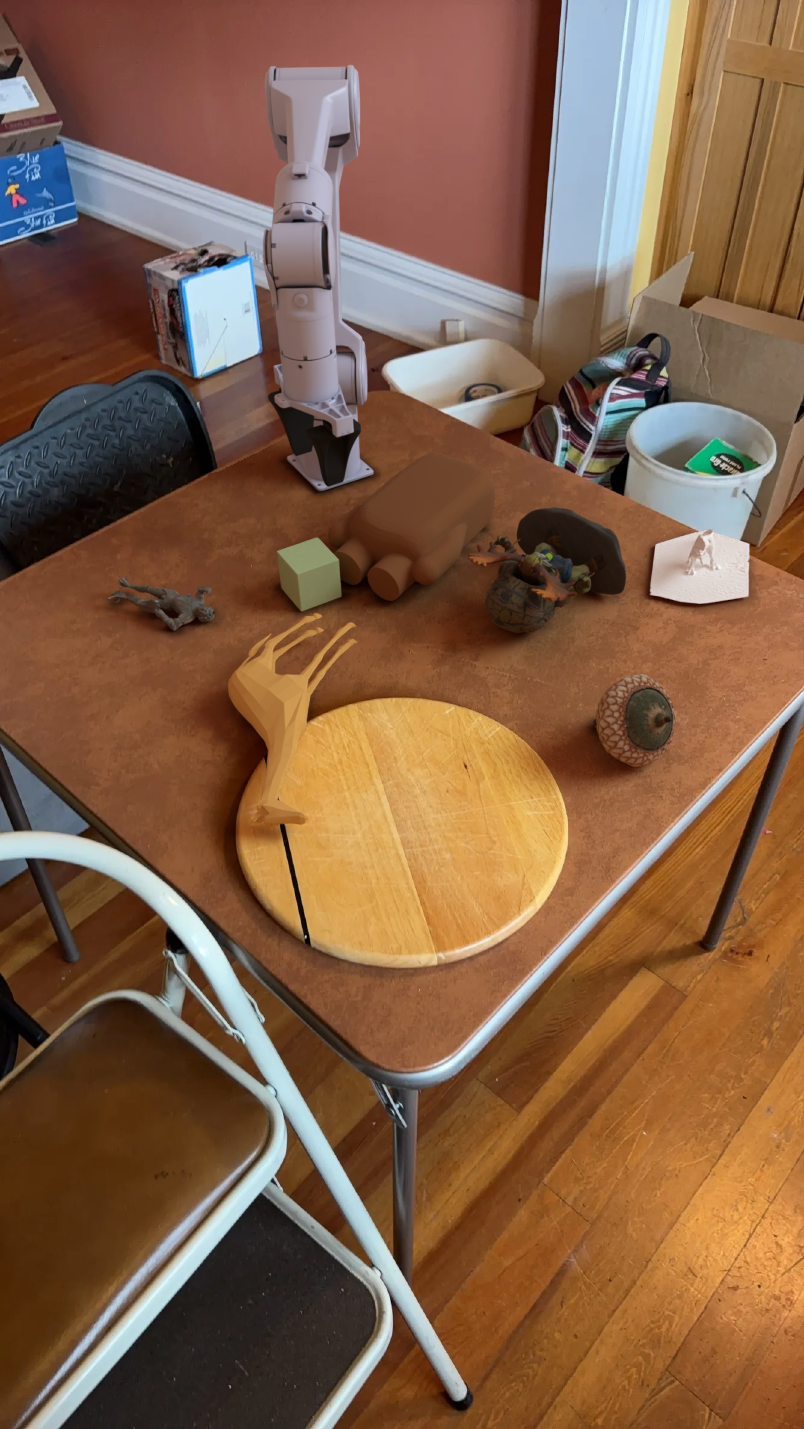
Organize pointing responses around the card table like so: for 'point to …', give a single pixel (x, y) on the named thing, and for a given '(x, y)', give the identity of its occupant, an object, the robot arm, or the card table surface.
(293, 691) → the giraffe
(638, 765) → the acorn
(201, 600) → the figurine
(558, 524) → the figurine
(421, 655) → the card table surface
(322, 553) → the felt cube
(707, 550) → the dinosaur figurine
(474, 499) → the toy
